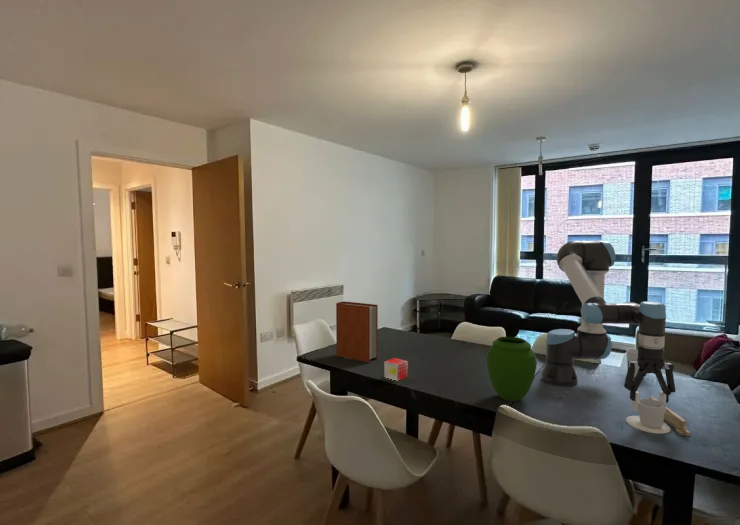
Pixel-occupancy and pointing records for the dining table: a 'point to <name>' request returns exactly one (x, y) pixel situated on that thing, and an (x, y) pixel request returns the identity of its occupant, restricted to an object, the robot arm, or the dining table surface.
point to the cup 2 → (651, 412)
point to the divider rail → (675, 421)
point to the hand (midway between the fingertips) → (648, 410)
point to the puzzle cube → (396, 369)
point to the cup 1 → (632, 358)
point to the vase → (511, 367)
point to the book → (357, 330)
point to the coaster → (636, 423)
